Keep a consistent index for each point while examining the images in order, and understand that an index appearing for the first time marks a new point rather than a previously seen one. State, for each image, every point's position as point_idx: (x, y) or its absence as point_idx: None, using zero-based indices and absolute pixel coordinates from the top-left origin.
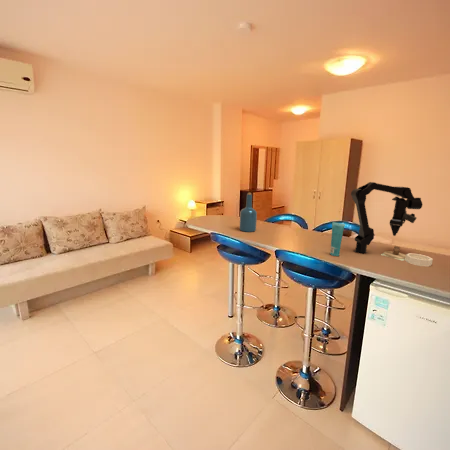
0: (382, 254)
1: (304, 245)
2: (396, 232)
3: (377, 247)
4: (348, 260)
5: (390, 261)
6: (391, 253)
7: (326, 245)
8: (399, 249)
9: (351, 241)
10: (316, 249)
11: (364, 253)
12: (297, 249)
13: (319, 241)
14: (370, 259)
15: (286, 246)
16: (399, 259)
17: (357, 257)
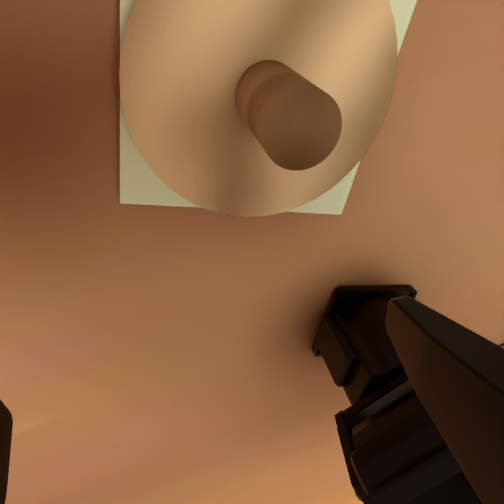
0: (319, 202)
1: None
2: (501, 352)
3: (35, 329)
4: None
5: (482, 74)
6: (259, 146)
7: (333, 455)
8: (298, 79)
9: (75, 475)
10: None
11: (392, 293)
12: None
13: (276, 499)
14: (501, 211)
15: None
16: (402, 5)
17: (493, 279)
